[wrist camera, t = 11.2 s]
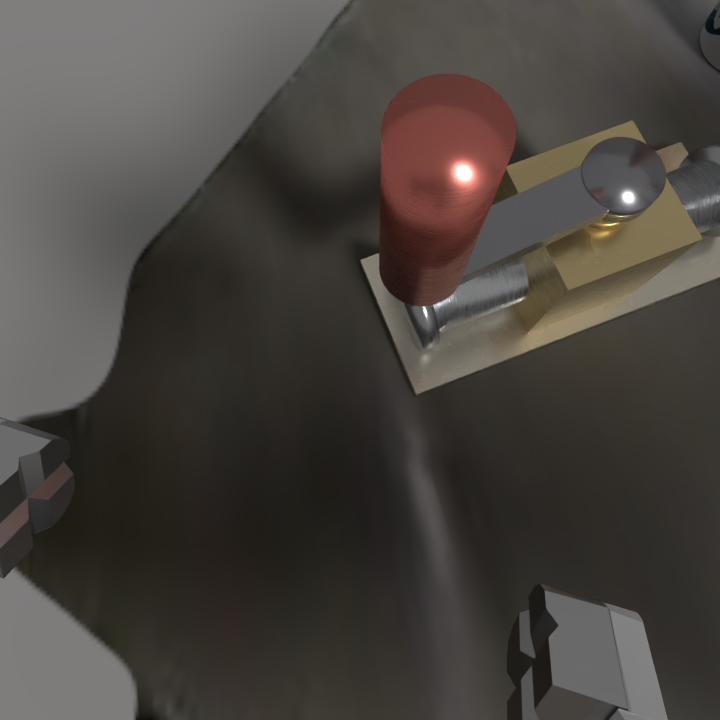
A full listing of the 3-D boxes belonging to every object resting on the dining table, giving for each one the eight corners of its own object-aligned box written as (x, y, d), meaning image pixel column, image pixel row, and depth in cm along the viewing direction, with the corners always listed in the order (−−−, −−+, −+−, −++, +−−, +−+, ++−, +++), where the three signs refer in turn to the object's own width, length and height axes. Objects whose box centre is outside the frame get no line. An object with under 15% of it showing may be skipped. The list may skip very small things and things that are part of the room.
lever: (625, 141, 26) (780, -76, 16) (668, 203, 25) (857, 15, 15) (365, 259, 25) (358, 104, 15) (400, 327, 24) (418, 212, 14)
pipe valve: (674, 149, 36) (768, 41, 27) (746, 268, 34) (872, 191, 25) (360, 265, 34) (355, 189, 26) (415, 396, 32) (429, 361, 24)
